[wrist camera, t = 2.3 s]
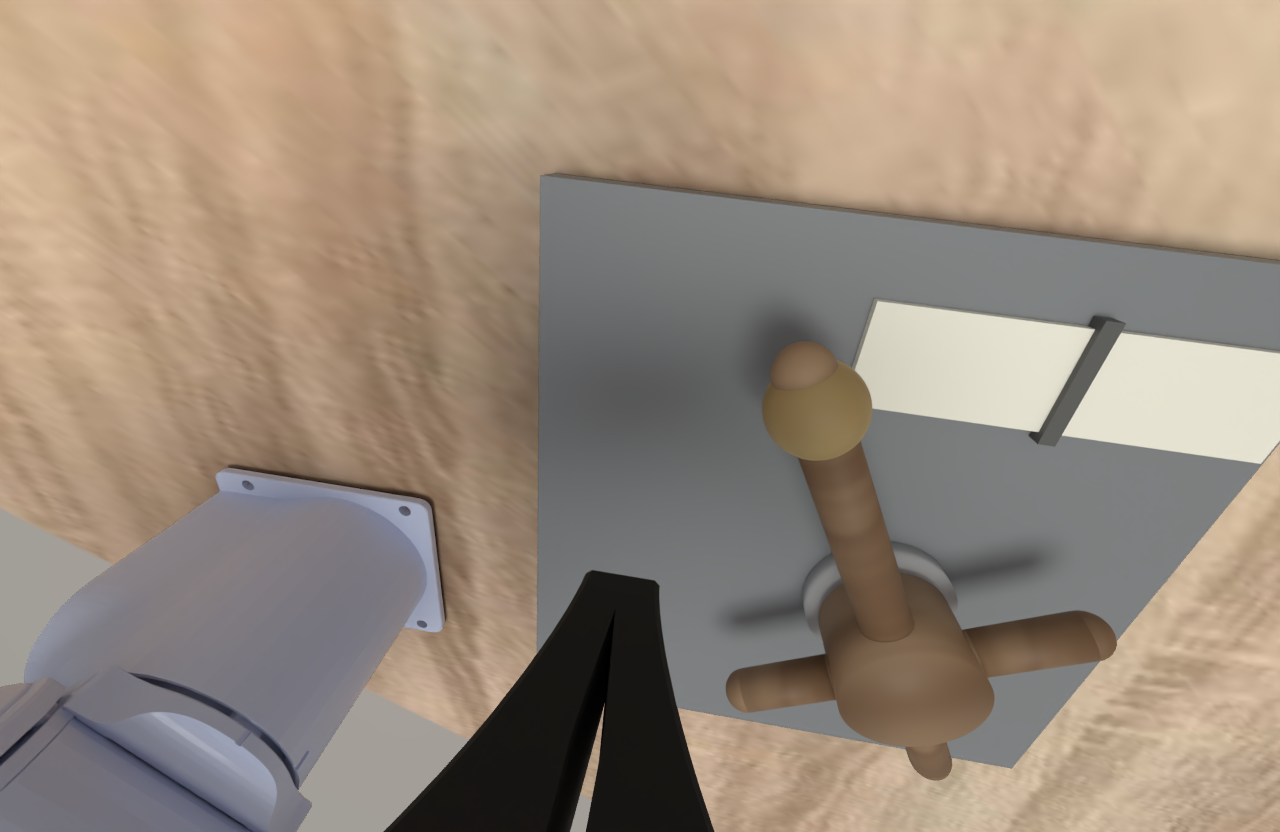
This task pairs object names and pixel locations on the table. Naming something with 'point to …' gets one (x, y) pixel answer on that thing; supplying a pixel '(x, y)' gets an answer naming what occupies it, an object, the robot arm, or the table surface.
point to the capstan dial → (887, 594)
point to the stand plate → (884, 421)
